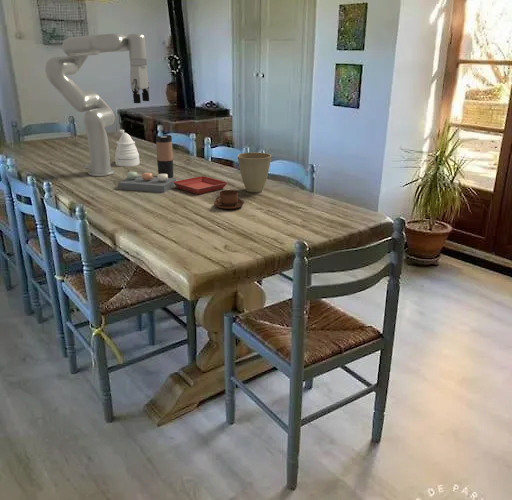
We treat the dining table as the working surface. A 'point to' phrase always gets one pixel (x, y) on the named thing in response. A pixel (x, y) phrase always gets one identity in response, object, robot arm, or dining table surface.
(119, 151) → the honey pot
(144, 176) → the terracotta button
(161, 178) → the cream button
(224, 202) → the cup and saucer
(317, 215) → the dining table surface
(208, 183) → the plant saucer
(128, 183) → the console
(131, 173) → the sage button
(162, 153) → the travel mug
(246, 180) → the plant pot
